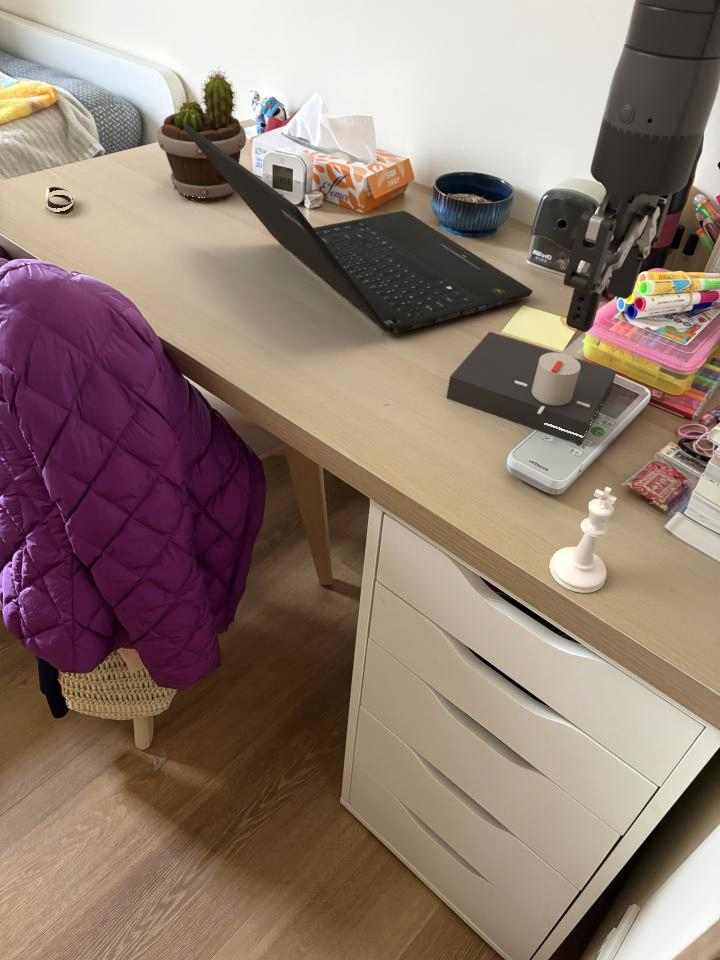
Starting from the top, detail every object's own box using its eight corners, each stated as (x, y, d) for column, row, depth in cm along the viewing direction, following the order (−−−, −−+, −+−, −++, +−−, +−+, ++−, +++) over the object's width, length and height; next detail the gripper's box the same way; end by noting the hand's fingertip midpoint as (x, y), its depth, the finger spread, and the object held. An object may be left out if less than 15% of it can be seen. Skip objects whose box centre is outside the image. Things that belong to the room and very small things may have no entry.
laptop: (533, 303, 101) (565, 160, 88) (295, 369, 86) (293, 208, 73) (404, 218, 122) (415, 92, 109) (195, 259, 107) (178, 118, 94)
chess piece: (562, 543, 66) (590, 461, 60) (613, 567, 64) (648, 485, 57) (540, 575, 63) (566, 492, 56) (592, 602, 61) (627, 519, 54)
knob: (539, 378, 81) (547, 345, 78) (576, 390, 80) (586, 357, 77) (525, 397, 78) (534, 363, 75) (564, 410, 77) (574, 376, 74)
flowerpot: (157, 207, 121) (138, 74, 107) (174, 175, 132) (158, 52, 119) (243, 211, 121) (235, 79, 108) (253, 179, 132) (246, 56, 119)
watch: (45, 201, 120) (40, 179, 118) (75, 199, 122) (70, 177, 119) (45, 219, 115) (39, 196, 113) (76, 216, 116) (71, 194, 114)
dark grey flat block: (609, 391, 85) (617, 369, 83) (577, 451, 76) (584, 428, 74) (485, 352, 91) (489, 330, 89) (441, 403, 82) (445, 380, 80)
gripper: (667, 148, 48) (604, 356, 59) (734, 110, 57) (668, 297, 67) (567, 125, 52) (524, 325, 62) (644, 92, 60) (595, 273, 71)
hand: (599, 310), depth 65 cm, fingers open, 8 cm apart
